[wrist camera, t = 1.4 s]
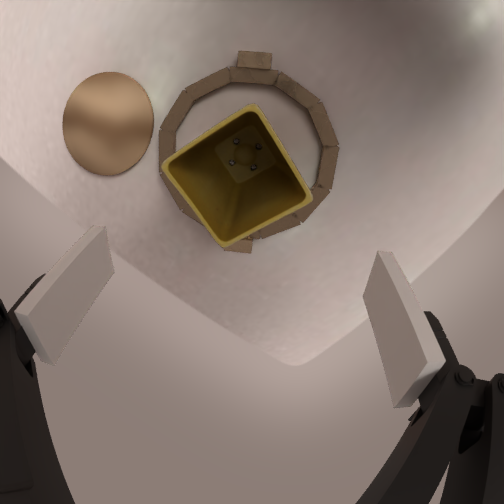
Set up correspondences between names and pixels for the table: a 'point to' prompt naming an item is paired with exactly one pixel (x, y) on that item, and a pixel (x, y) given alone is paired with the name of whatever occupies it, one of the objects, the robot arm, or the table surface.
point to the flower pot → (238, 177)
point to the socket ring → (258, 71)
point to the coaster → (108, 123)
